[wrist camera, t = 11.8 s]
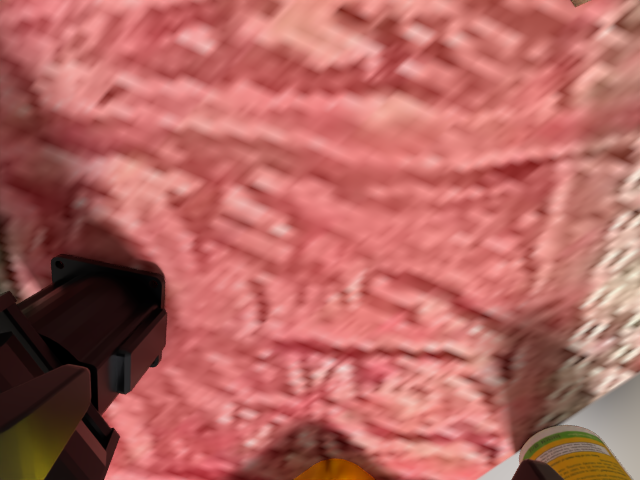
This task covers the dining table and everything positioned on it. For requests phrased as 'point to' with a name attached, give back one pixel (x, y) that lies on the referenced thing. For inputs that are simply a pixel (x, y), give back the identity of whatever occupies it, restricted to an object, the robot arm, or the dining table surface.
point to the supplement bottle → (574, 454)
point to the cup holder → (578, 2)
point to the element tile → (335, 471)
